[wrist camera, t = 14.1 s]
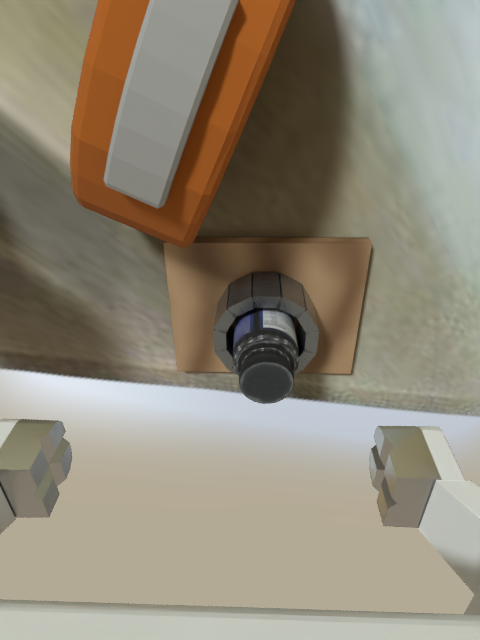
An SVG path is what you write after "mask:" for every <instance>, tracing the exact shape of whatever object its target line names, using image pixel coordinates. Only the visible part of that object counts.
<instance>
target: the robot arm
mask: <svg viewBox="0 0 480 640" xmlns="http://www.w3.org/2000/svg"><path fill="white" fill-rule="evenodd" d="M64 433H65V428H64V426H63V423H62V422H60V421H49V420H26V419H25V420H24V419H21V420H20V419H2V420H1V421H0V534H1V533H2V532H3V531H4V530H5V529H6V528H7V527H8V526H9V525H10V524H11V523H13V522H14V520H16V518H15V517H50V514H51V512H52V509H53V507H54V505H55V503H56V501H57V498H58V496H59V492H58V489H57V486H58V485H59V484H60V483H61V482H63V481H64V480H65V479H66V478H67V475H68V473H69V470H70V465H71V460H72V452H71V447H70V443H69V442H68V441H66V440H65V439H64V438H63V435H64ZM374 438H375V442H376V445H375V446H374V447H373V448H372V449H371V453H370V474H371V479H372V484H373V486H374V487H375V488H376V489H377V490H378V491H379V495H378V499H377V503H378V507H379V511H380V515H381V519H382V522H383V526H394V527H414V528H419V531H420V532H421V533H422V534H423V535H424V537H425V538H426V539H427V540H428V541H429V542H430V544H431V545H432V546H433V547H434V548H435V549H436V550H437V552H438V553H439V554H440V555H441V556H442V557H443V559H444V560H445V561H446V562H447V563H448V564H449V565H450V567H451V568H452V569H453V570H454V571H455V572H456V574H457V575H458V576H459V577H460V578H461V579H462V580H463V582H464V583H465V584H466V585H467V586H468V587H469V589H470V590H471V591H472V592H473V593H474V594H475V595H474V597H473V599H472V600H471V602H470V604H469V606H468V608H467V609H466V611H465V613H464V614H434V613H402V612H371V611H341V610H309V609H280V608H249V607H218V606H186V605H155V604H153V605H152V604H121V603H91V602H59V601H28V600H0V640H480V487H479V486H478V485H477V484H475V483H474V482H473V481H467V480H465V478H464V476H463V474H462V472H461V470H460V467H459V465H458V463H457V461H456V459H455V457H454V455H453V453H452V451H451V448H450V446H449V444H448V442H447V440H446V438H445V436H444V434H443V432H442V430H441V429H440V428H439V427H425V426H422V427H421V426H418V427H416V426H378V427H377V428H376V431H375V434H374Z"/></svg>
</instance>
